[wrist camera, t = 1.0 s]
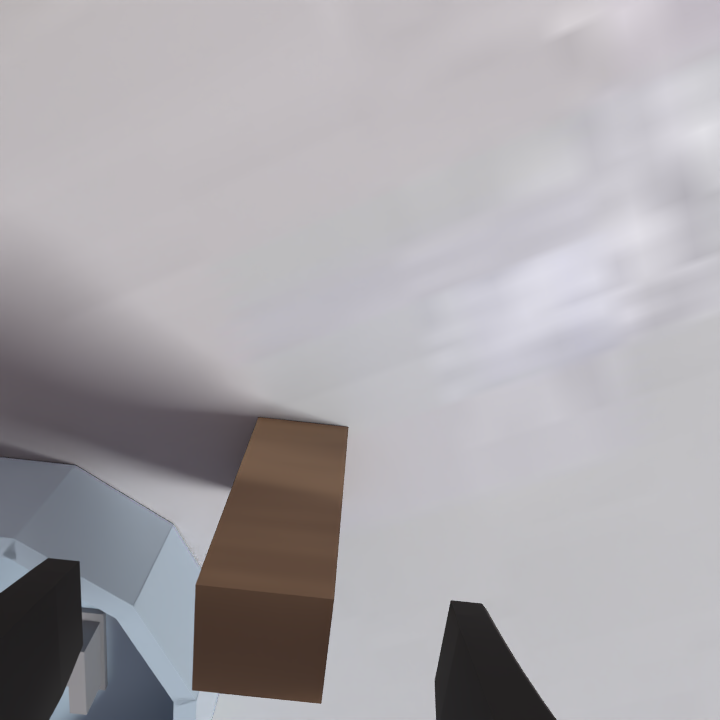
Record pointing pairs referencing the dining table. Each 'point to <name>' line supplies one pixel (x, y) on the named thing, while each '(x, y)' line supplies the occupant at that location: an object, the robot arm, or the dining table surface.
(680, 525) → the dining table surface
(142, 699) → the pale blue round tray
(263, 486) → the long wooden beam
